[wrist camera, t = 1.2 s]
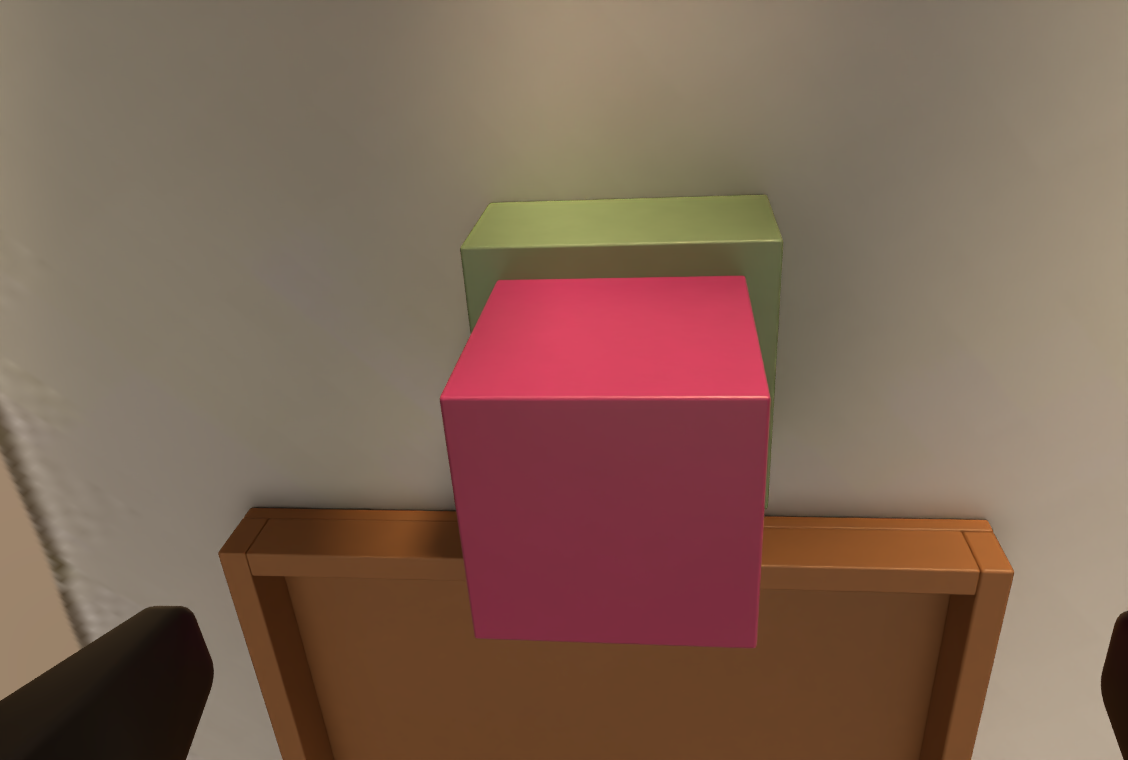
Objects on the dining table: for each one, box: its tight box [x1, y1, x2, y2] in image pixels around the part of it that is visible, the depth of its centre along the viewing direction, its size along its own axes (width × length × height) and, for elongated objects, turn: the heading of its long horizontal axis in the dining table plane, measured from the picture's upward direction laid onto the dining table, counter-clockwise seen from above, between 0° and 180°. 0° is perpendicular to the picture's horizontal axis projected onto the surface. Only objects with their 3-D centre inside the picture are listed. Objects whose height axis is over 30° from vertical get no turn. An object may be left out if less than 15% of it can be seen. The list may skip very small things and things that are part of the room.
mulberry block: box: [440, 276, 771, 648], centre depth 16 cm, size 5×5×5 cm
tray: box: [218, 508, 1014, 760], centre depth 26 cm, size 21×14×2 cm, turn 94°
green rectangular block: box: [460, 195, 783, 509], centre depth 20 cm, size 6×6×3 cm
